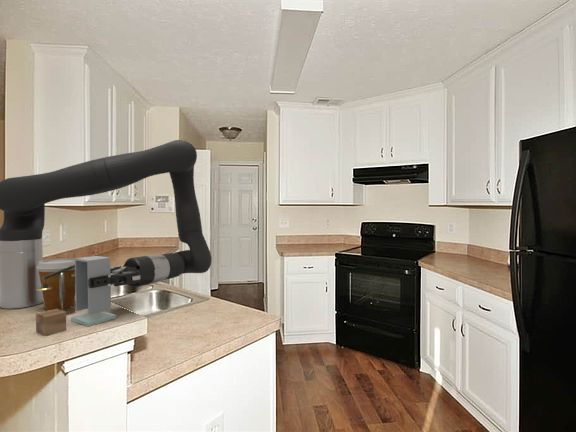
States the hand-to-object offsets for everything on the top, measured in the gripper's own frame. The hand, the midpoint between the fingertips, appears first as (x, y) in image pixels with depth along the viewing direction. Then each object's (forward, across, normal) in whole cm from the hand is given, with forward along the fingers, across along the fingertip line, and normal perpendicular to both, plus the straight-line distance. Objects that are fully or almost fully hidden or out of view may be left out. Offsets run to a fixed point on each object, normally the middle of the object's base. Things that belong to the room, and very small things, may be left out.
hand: (81, 281), depth 79 cm
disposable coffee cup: (-4, -18, +9) cm, 20 cm away
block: (+6, 0, +9) cm, 11 cm away
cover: (-3, 0, +7) cm, 7 cm away
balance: (-1, -11, +9) cm, 14 cm away
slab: (-3, 0, +9) cm, 10 cm away
